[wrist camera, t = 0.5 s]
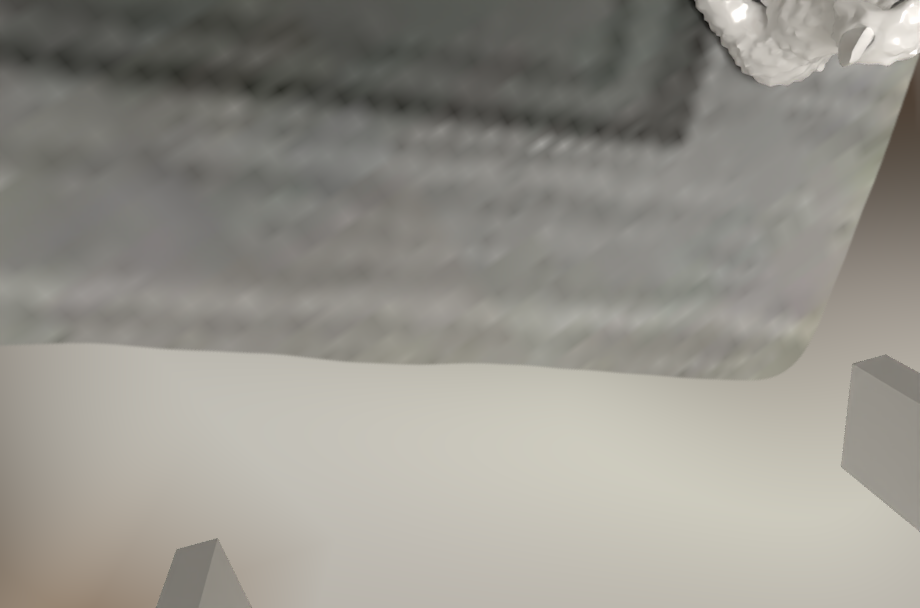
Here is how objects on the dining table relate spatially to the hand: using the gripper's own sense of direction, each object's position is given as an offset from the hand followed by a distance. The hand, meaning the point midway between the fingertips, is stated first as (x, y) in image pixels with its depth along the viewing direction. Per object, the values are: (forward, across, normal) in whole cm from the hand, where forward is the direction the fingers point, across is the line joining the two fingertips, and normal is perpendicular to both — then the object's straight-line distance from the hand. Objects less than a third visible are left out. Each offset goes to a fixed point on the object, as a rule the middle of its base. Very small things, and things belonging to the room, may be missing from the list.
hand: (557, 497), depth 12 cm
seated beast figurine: (+26, +22, +7) cm, 35 cm away
